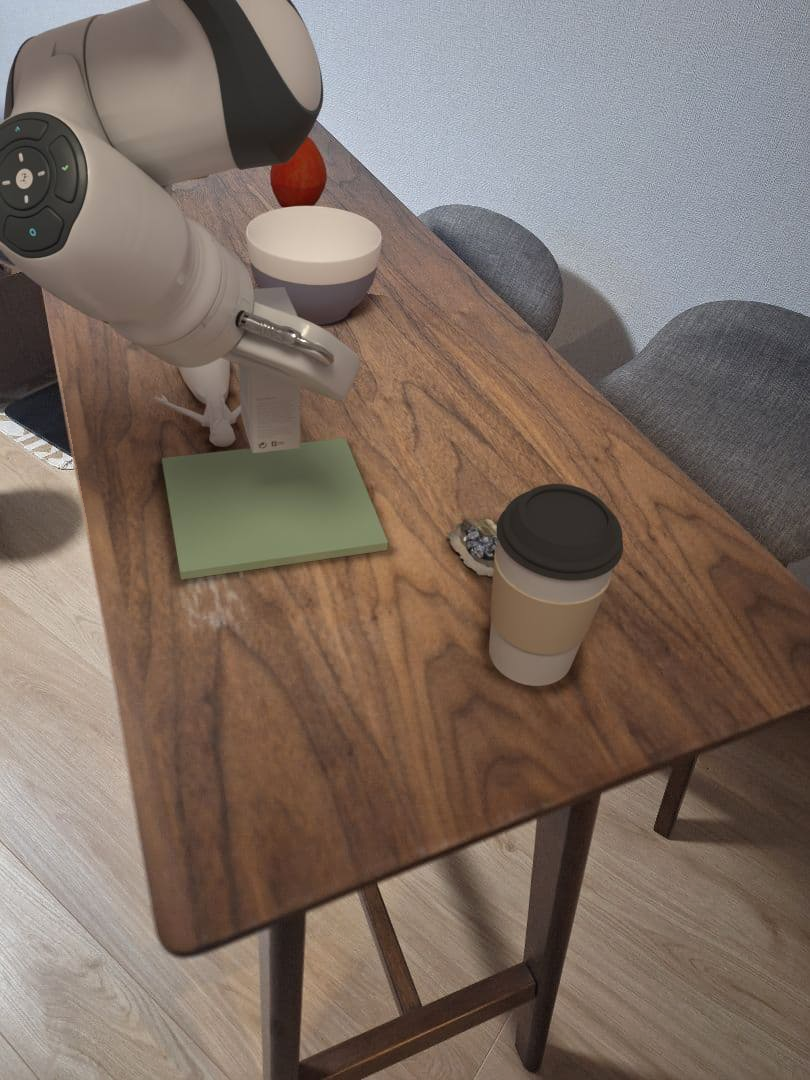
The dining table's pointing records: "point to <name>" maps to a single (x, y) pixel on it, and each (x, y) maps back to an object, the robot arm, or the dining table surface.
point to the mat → (269, 508)
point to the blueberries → (476, 544)
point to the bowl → (315, 258)
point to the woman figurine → (210, 399)
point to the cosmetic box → (270, 394)
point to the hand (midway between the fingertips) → (271, 362)
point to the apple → (300, 177)
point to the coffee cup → (549, 579)
